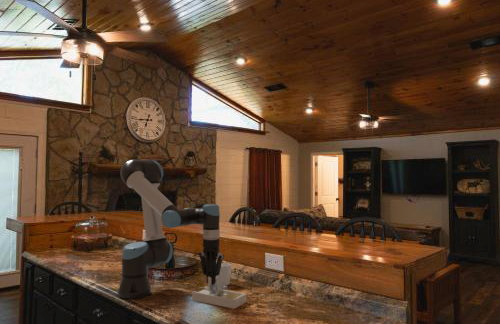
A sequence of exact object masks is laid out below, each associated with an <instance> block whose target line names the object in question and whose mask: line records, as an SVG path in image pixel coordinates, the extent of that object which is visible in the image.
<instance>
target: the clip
mask: <svg viewBox="0 0 500 324" xmlns="http://www.w3.org/2000/svg"><path fill="white" fill-rule="evenodd" d="M223 292H224V284H220V285H218V283H217V282H215V284H211V285H210V295H215V296H221V295H223Z"/></svg>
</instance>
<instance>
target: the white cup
mask: <svg viewBox="0 0 500 324" xmlns="http://www.w3.org/2000/svg"><path fill="white" fill-rule="evenodd" d="M231 268H232V264H231V263H229V262H222V264H221V269H220V273H219V275H217V276H216V277H215V280H216V283H218V285H220V284H224V286H229V285H230V284H231V272H232V269H231Z"/></svg>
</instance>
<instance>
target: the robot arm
mask: <svg viewBox="0 0 500 324" xmlns="http://www.w3.org/2000/svg"><path fill="white" fill-rule="evenodd" d="M119 173H120V174H119V175H120V178H121V181H123V183H124V184H125V185H126V186H127V187H128V188H129V189H133V190H134V191H135V192H136V193H137V194H138V195H139V196H140V198H141V206H142V208H141V209H142V214H143V215H142V216H143V223H144V225H143V226H144V234H145V238H144V239H143V241H136V242H131V243H128V244H126V245H124V246H123V248H122V251H121V252H122V253H121V280H120V283H119V287H118V289H117V297H119V298H120V299H127V300H128V299H130V300H131V299H140V298H141V299H142V298H144V297H147V296H150V294H151V293H152V286H151V285H150V280H149V277H148V269H151V268H155V267H158V266H162V265H165V264H167V263H168V262H169V261H170V260H171V259H172V257H173V255H174V254H173V253H174V252H173V251H174V249H173V245H172V244H171V242H170V241H169V240H168V239H167V236H166V235H165V234H164V231H163V226H164V227H165V228H167V229H170V228H171V229H174V228H179V227H185V226H192V225H201V226H202V238H203V239H202V247H203V249H202V251H200V252H199V253H198V256H199V259H200V263H201V269H202V274H203V275H204V276H206V284H207V287H208V291H209V292H210V285H211V284H215V283H216V276H217V275H219V273H220V269H221V264H222V263H223V259H224V257H225V255H224V254H222V253H221V251H220V233H221V232H220V216H221V213H220V206H219V204H213V203H211V204H210V203H209V204H208V203H207V204H204V205H202V207H201V208H200V207H199V208H198V207H185V208H182V209H181V208H178V207H177V206H176V205H174V204H173V202H171V200H169V199H168V197H166V196H165V195H164V194H163V193H162V192H161V191H160V190H159V189H158V188H159V186H160V185H161V181H162V179H163V178H164V169H163V166H162V165H161V164H160V162H158V161H156V160H153V159H152V160H150V159H149V160H148V159H146V160H145V159H129V160H126V161H125V162H124V163H123V164H122V166H121V168H120V172H119Z"/></svg>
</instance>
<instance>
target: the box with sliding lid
mask: <svg viewBox="0 0 500 324" xmlns="http://www.w3.org/2000/svg"><path fill="white" fill-rule="evenodd" d="M191 300H192V301H196V302H199V303H204V304H205V303H206V304H211V305H213V306H214V305H215V306H220V307H223V308H224V307H225V308H229V309H236V308H238V307H240V306H242V305H244V304H246V303H247V293H244V292H238V291H233V290H228V289H227V290H224V292H223V295H221V296H215V295H210V292H209V291H208V285H207V286H204V288H203V289H202V290H199V291H195V290H194V291H192V292H191Z"/></svg>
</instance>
